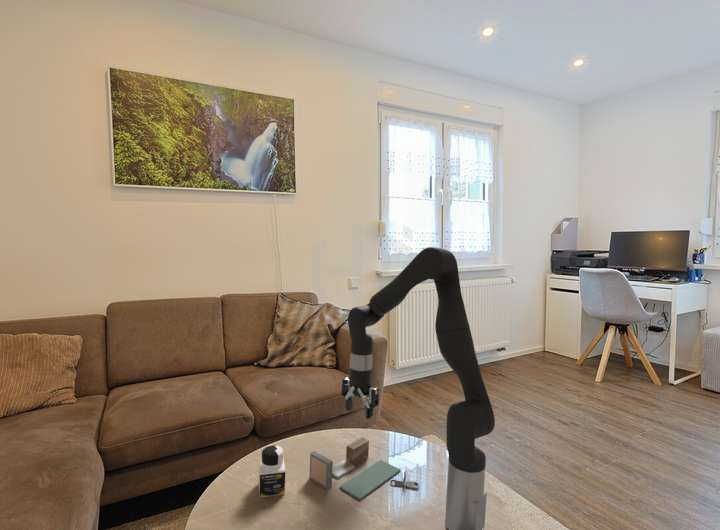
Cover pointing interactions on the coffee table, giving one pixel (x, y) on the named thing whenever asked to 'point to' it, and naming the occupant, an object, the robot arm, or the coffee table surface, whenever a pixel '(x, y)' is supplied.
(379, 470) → the mat
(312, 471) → the tile
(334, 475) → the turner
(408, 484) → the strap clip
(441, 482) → the coffee table surface
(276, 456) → the medicine bottle
